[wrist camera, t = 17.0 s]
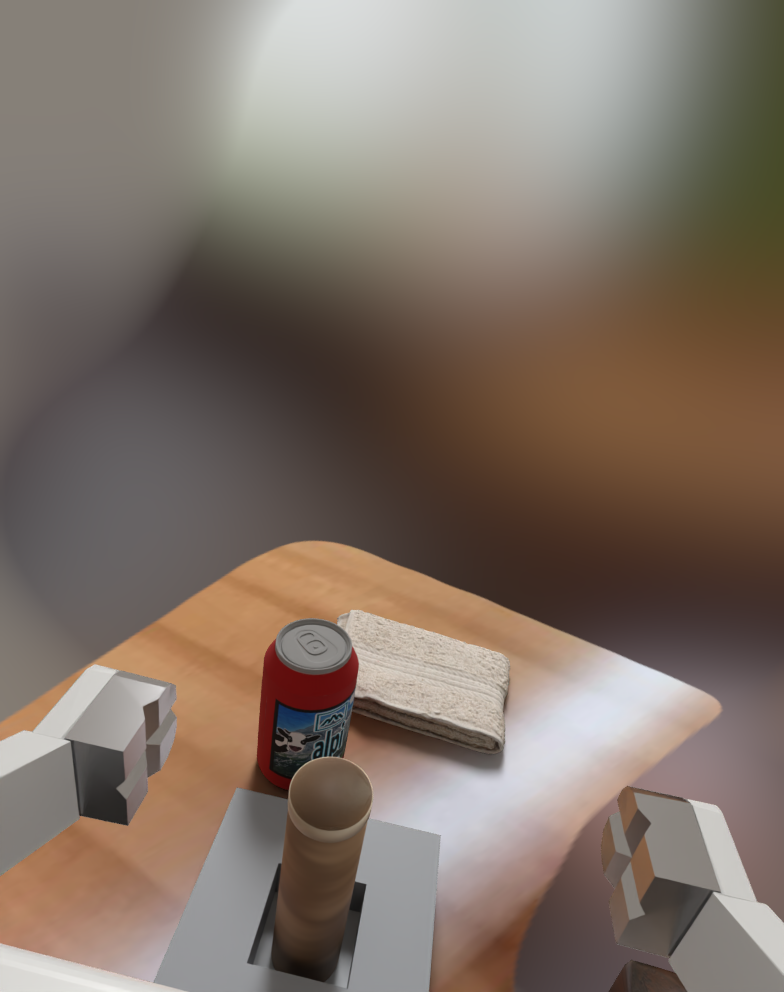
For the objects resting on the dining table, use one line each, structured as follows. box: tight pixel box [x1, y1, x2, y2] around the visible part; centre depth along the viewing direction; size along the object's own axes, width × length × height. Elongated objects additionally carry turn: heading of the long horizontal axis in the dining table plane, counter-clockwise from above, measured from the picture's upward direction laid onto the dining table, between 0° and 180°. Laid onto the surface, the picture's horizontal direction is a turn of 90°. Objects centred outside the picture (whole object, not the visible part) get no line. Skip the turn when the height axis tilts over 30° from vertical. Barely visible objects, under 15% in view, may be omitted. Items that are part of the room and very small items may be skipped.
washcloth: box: [337, 610, 510, 754], centre depth 57 cm, size 12×18×3 cm, turn 77°
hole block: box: [153, 788, 441, 992], centre depth 35 cm, size 14×14×4 cm
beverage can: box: [257, 618, 359, 790], centre depth 45 cm, size 7×7×12 cm
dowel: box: [272, 757, 373, 982], centre depth 33 cm, size 4×4×14 cm
